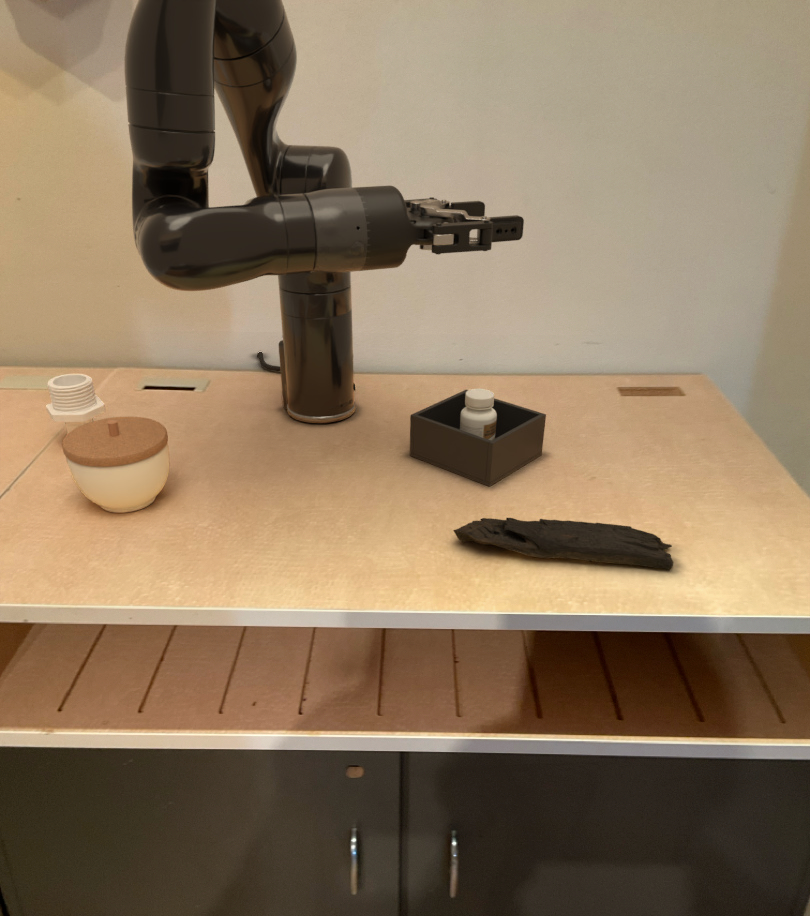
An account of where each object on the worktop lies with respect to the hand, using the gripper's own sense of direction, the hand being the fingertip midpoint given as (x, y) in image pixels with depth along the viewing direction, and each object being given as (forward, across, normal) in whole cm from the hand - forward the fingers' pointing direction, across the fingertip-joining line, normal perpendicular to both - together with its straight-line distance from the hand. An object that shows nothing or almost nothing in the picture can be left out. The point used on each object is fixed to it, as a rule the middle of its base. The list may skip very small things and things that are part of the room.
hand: (501, 219), depth 81 cm
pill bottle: (0, +3, +28) cm, 28 cm away
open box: (0, +3, +28) cm, 28 cm away
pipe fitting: (-45, +25, +28) cm, 59 cm away
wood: (-1, -19, +28) cm, 34 cm away
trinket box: (-41, +7, +28) cm, 50 cm away
